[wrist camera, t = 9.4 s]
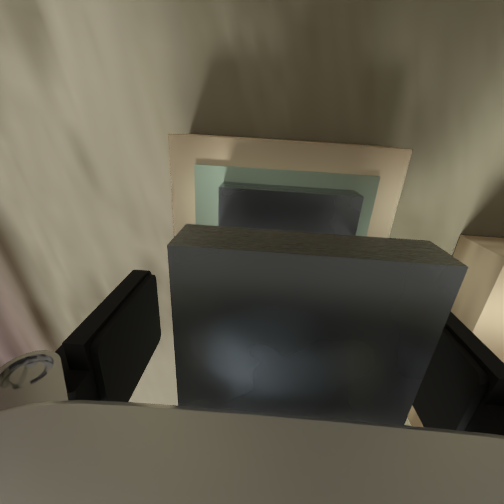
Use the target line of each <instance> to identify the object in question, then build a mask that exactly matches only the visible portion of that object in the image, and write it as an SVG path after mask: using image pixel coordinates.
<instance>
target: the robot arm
mask: <svg viewBox="0 0 504 504" xmlns="http://www.w3.org/2000/svg"><path fill="white" fill-rule="evenodd" d="M160 337H161V328H160V317H159V306H158V294H157V283H156V277H155V275H152V274H151V272H150V271H144V270H133V271H132V272H131V273H130V274H129V275H128V276H127V277H126V278H125V279H124V280H123V281H122V282H121V283H120V284H119V285H118V286H117V287H116V288H115V289H114V290H113V291H112V292H111V293H110V294H109V295H108V296H107V297H106V299H105V300H104V301H103V302H102V303H101V304H100V305H99V306H98V307H97V308H96V309H95V310H94V311H93V312H92V313H91V314H90V315H89V316H88V317H87V318H86V319H85V320H84V321H83V322H82V323H81V324H80V325H79V326H78V327H77V328H76V329H75V330H74V331H73V332H72V333H71V335H70V336H69V337H68V338H67V339H66V340H65V341H64V342H63V343H62V345H61V346H60V347H59V348H58V349H57V351H56V352H54V351H49V350H40V351H33V352H29V353H26V354H23V355H21V356H18V357H16V358H14V359H12V360H11V361H9V362H7V363H6V364H4V365H3V366H2V367H1V368H0V504H504V363H503V362H502V361H501V360H500V359H499V358H498V357H497V356H496V355H495V354H494V353H493V352H492V351H491V350H490V349H489V348H488V347H487V346H486V345H485V344H484V343H483V342H482V341H481V340H480V339H479V338H478V337H477V336H476V335H475V334H474V333H473V332H472V331H470V330H469V329H468V328H467V327H466V326H465V325H464V324H463V323H462V322H461V321H460V320H459V319H458V318H457V317H456V316H455V315H454V314H453V313H452V312H451V311H450V314H449V316H448V319H447V321H446V324H445V326H444V328H443V331H442V333H441V336H440V338H439V341H438V343H437V346H436V348H435V350H434V353H433V355H432V358H431V360H430V363H429V365H428V368H427V370H426V372H425V375H424V377H423V380H422V382H421V385H420V387H419V390H418V392H417V394H416V397H415V399H414V402H413V404H412V406H413V408H414V409H415V411H416V413H417V415H418V417H419V419H420V421H421V423H422V424H423V426H424V427H417V426H406V425H396V424H385V423H374V422H363V421H352V420H341V419H329V418H318V417H307V416H295V415H283V414H272V413H260V412H248V411H236V410H224V409H211V408H199V407H187V406H174V405H162V404H147V403H133V402H128V401H129V399H130V398H131V396H132V394H133V392H134V390H135V388H136V386H137V384H138V382H139V380H140V378H141V376H142V374H143V372H144V370H145V368H146V366H147V365H148V363H149V361H150V359H151V357H152V355H153V353H154V351H155V349H156V347H157V345H158V343H159V341H160Z"/></svg>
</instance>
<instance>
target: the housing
mask: <svg viewBox="0 0 504 504" xmlns="http://www.w3.org/2000/svg"><path fill="white" fill-rule="evenodd" d="M363 199H364V197H363V196H362V195H360V194H359V193H357V192H356V191H354V190H344V189H329V188H314V187H299V186H284V185H269V184H254V183H239V182H223V183H222V184H221V185H220V186H219V204H218V226H212V225H198V224H186V225H185V226H184V227H183V228H182V229H181V230H180V231H179V232H178V234H177V235H176V236H175V237H174V238H173V239H172V240H171V242H170V243H169V244H168V245H167V248H168V262H169V277H170V292H171V306H172V321H173V335H174V350H175V364H176V379H177V393H178V406H187V407H199V408H211V409H224V410H236V411H248V412H260V413H272V414H283V415H295V416H307V417H318V418H329V419H341V420H352V421H363V422H374V423H385V424H396V425H404V424H405V421H406V419H407V416H408V414H409V412H410V409H411V407H412V404H413V402H414V399H415V397H416V394H417V392H418V390H419V387H420V385H421V382H422V380H423V377H424V375H425V372H426V370H427V368H428V365H429V363H430V360H431V358H432V355H433V353H434V350H435V348H436V346H437V343H438V341H439V338H440V336H441V333H442V331H443V328H444V326H445V324H446V321H447V319H448V316H449V314H450V311H451V309H452V306H453V304H454V302H455V299H456V297H457V294H458V292H459V289H460V287H461V284H462V282H463V280H464V277H465V275H466V272H467V270H468V266H466V265H465V264H463V263H462V262H460V261H459V260H457V259H456V258H454V257H453V256H451V255H450V254H448V253H447V252H445V251H444V250H442V249H441V248H440V247H438V246H437V245H435V244H434V243H432V242H431V241H424V240H410V239H396V238H382V237H368V236H356V231H357V227H358V222H359V218H360V213H361V208H362V204H363Z"/></svg>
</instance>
